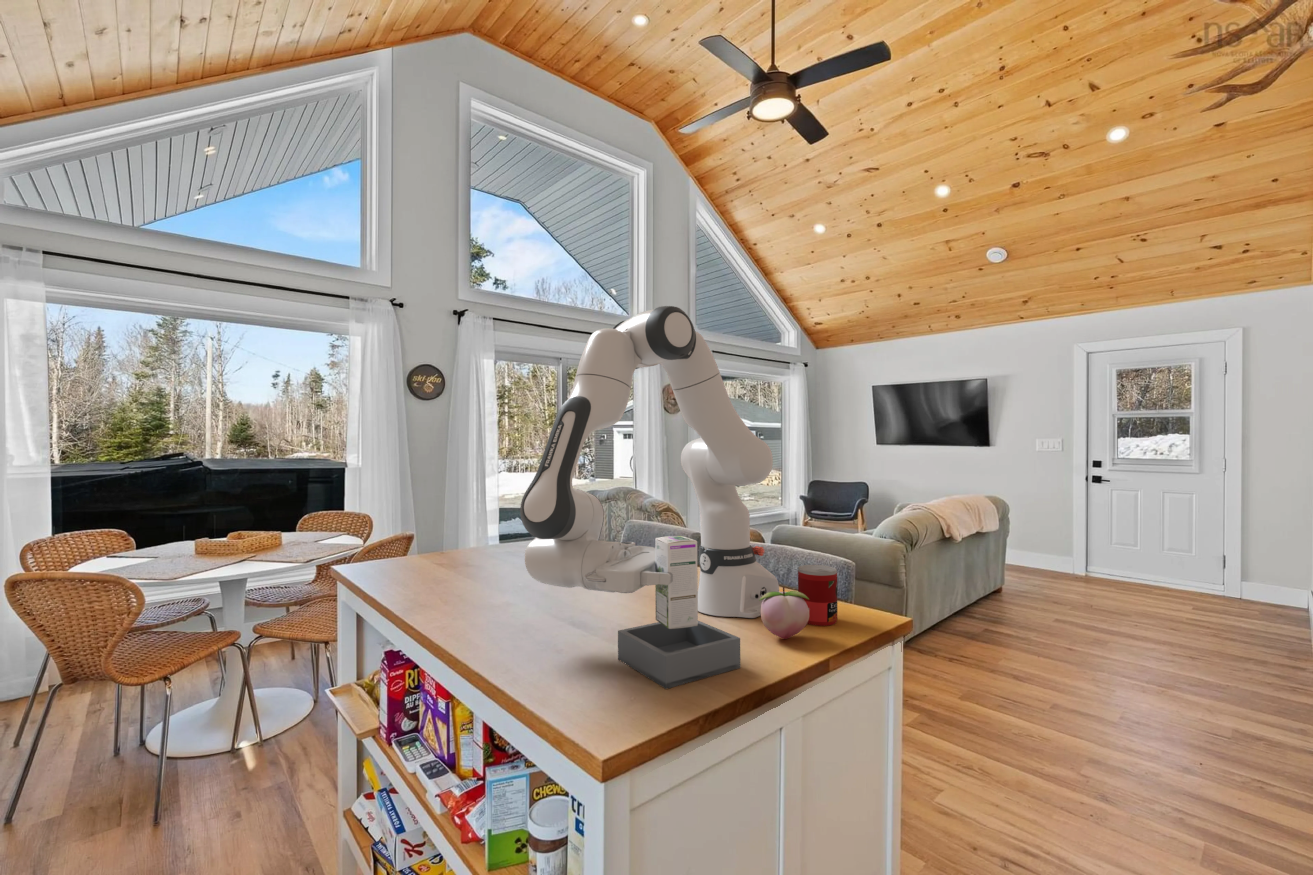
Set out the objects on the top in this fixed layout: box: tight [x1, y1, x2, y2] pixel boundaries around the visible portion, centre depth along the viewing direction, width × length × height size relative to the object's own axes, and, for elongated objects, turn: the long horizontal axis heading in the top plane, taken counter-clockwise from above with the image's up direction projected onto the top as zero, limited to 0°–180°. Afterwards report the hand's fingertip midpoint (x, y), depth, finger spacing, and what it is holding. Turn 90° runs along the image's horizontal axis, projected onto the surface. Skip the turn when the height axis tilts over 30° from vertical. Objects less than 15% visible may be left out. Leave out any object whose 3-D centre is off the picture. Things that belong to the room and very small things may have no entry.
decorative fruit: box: [759, 586, 809, 640], centre depth 114 cm, size 9×8×10 cm
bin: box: [617, 620, 741, 690], centre depth 102 cm, size 15×15×5 cm
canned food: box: [797, 564, 838, 627], centre depth 125 cm, size 8×8×11 cm
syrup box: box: [654, 535, 699, 629], centre depth 102 cm, size 6×6×14 cm
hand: (680, 573), depth 101 cm, fingers closed on syrup box, 8 cm apart
